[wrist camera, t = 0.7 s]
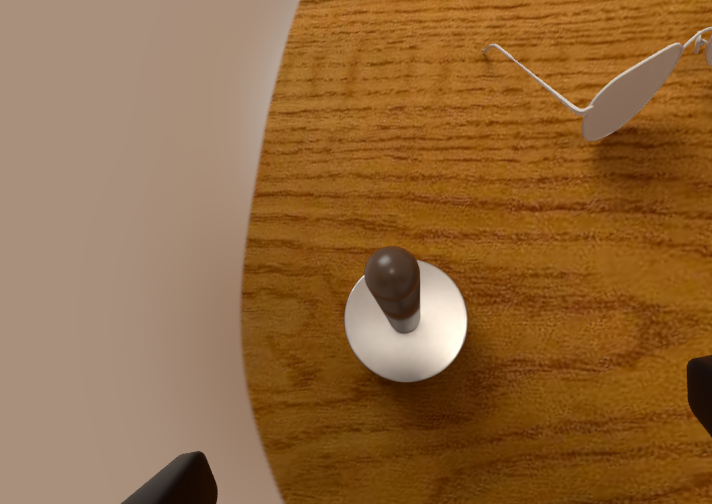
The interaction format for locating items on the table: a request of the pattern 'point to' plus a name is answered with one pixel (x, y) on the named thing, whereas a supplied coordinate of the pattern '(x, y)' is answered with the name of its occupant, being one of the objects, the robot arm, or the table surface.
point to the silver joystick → (405, 317)
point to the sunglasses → (625, 88)
